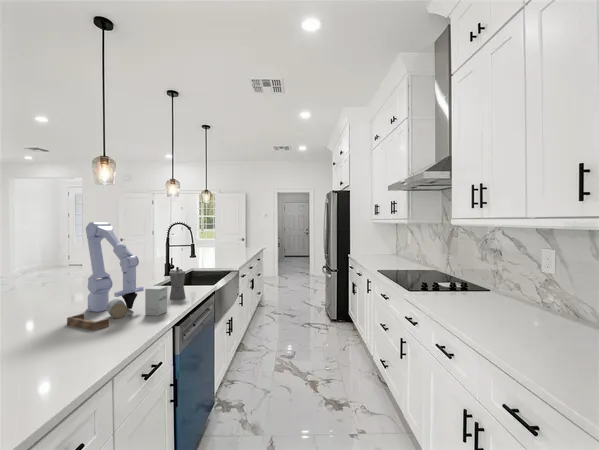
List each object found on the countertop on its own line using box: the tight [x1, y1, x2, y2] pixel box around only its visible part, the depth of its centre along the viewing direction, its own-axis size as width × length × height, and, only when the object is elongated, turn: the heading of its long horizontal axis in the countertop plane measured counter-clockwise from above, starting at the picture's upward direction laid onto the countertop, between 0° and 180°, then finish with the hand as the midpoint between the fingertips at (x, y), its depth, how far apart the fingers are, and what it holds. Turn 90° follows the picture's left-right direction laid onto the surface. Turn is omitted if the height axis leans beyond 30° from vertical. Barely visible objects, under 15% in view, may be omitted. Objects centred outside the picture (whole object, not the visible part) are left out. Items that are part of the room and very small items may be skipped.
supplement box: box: [144, 285, 168, 316], centre depth 159 cm, size 7×7×13 cm
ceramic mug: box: [106, 298, 135, 319], centre depth 154 cm, size 11×8×8 cm
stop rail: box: [66, 313, 110, 331], centre depth 141 cm, size 18×6×3 cm, turn 66°
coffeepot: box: [169, 266, 186, 301], centre depth 192 cm, size 15×9×18 cm, turn 44°
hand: (129, 308), depth 159 cm, fingers closed
